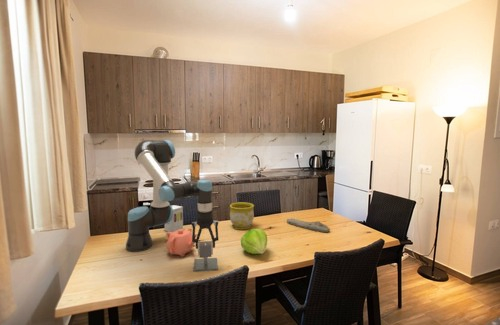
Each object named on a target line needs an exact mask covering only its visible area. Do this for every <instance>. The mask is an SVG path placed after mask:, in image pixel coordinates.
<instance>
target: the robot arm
mask: <svg viewBox="0 0 500 325" xmlns="http://www.w3.org/2000/svg"><path fill="white" fill-rule="evenodd" d="M175 155H176V148H175V146H174V144H173V142H172V141H171V140H168V139H145V140H142V141H140V142H138V144H137V145H136V147H135V148H134V157H135V158H134V159H135V160H136V162H138V164H140V165H141V166H143V168H144V169H145V171H146V172H147V174H148V175H149V176H150V177H151V179H152V189H153V190H152V191H153V192H152V202H150V205H149V206H150V207H148V206H137V207H135V208H132V209H129V211H128V212H127V228H128V231H127V233H128V236H127V240H126V242H125V250H126V251H128V252H142V251H145V250H146V251H147V250H148V249H151V248H152V247H153V244H154V243H153V241H154V240H153V239H152V236H151V234H150V228H154V227H157V226H161V225H165V223H168V222H170V221H171V220H172V217H173V210H172V209H173V208H172V206H173V205H171V204H170V202H171V201H175V200H181V199H186V198H191V197H193V198H196V199H197V201H196V202H197V203H196V204H197V205H196V206H197V219H196V221H192V222H191V227H192V231H191V234H192V242H195V249H196V250H197V256H198V257H200V256H199V244H200V242H201V241H199V240H200V237H201V234H202V231H203V230H204V229H207V230H208V232H209V234H210V237H211V240H210V241H211V255H212V256H213V255H214V248H216V242H219V231H218V229H219V228H218V227H219V226H218V225H219V221H218V220H214V219H213V182H212V180H210V179H199V180H197V182H196V181H193V180H191V181H190V180H188V181H185V182H184V183H177V184H176V183H175V182H174V181H173V180H172V178H171V177H170V175H169V164H171V163H172V159H173V158H175ZM197 225H198V226H199V229H198V231H197V234H198V235H197V236H196V239H195V234H196V227H197ZM212 225H213V226H214V230H215V231H214V232H215V236H214V233H213V230H212Z"/></svg>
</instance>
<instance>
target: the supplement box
mask: <svg viewBox="0 0 500 325" xmlns="http://www.w3.org/2000/svg"><path fill="white" fill-rule="evenodd" d="M171 206H172V208H173V209H172V210H173V217H172V220H171V221H170V222H168V223H165V224H164V231H165V232H172V233H173V232H175V231H177V230H179V229H183V230H184V215H183V214H184V211H183V209H184V206H182V205H181V206H179V205H174V204H173V205H171Z"/></svg>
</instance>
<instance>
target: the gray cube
mask: <svg viewBox="0 0 500 325" xmlns="http://www.w3.org/2000/svg"><path fill="white" fill-rule="evenodd" d="M211 241H212V240H207V241H204V240H203V241H200V244H199V256H198V257H199V259H203V257H208V258H213V257H212V256H213V255H211Z"/></svg>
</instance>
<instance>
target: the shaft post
mask: <svg viewBox="0 0 500 325" xmlns="http://www.w3.org/2000/svg"><path fill="white" fill-rule="evenodd" d="M217 270H219V268H218V257H202V258H194V261H193V272H206V271H217Z"/></svg>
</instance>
